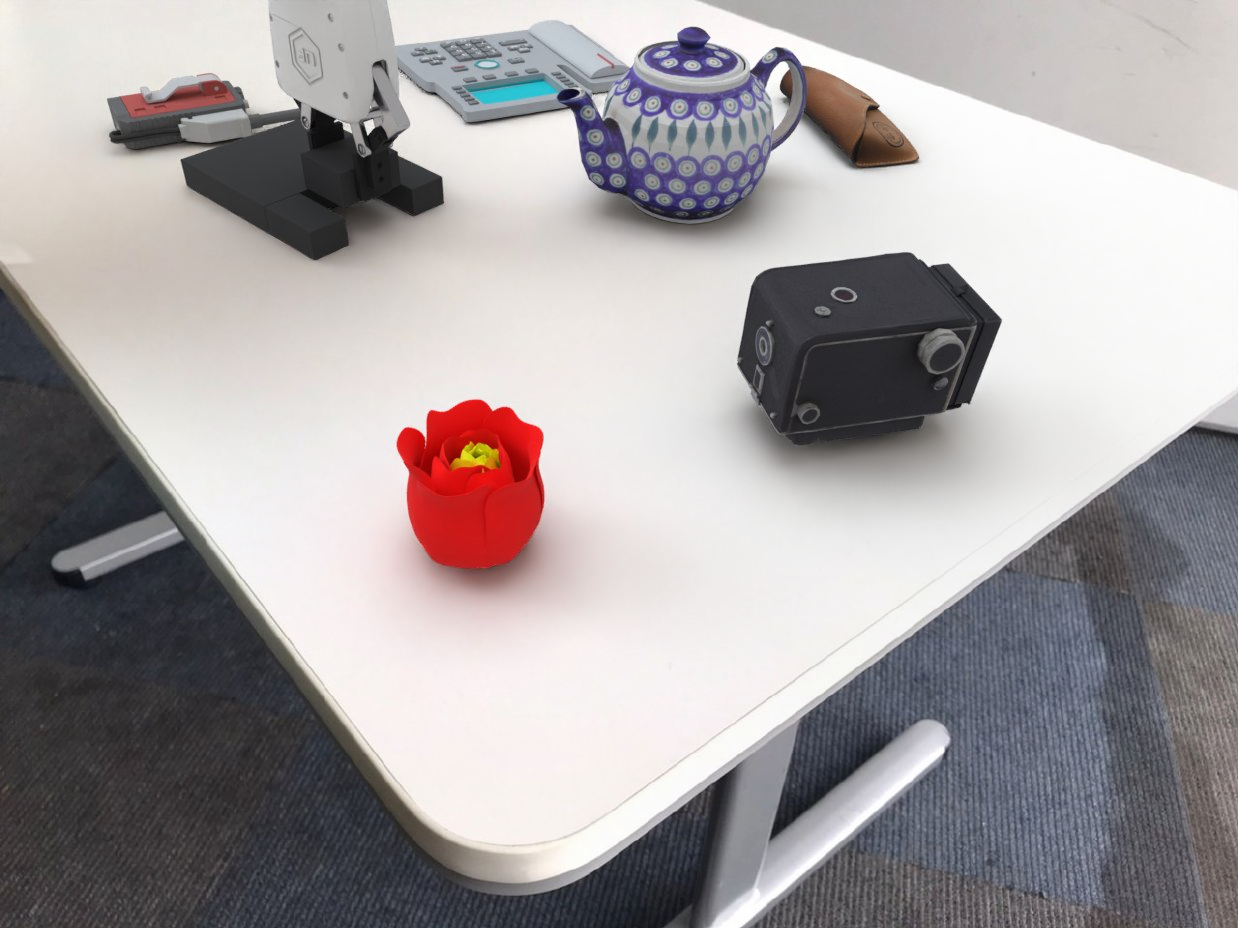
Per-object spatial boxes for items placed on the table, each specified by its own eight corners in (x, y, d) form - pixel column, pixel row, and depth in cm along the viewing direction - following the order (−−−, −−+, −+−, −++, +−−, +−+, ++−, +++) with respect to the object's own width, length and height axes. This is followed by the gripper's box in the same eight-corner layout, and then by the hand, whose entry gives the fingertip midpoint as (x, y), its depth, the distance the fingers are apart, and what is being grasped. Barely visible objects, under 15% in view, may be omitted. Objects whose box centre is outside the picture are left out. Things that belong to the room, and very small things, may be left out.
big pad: (314, 260, 82) (310, 232, 80) (186, 186, 90) (179, 159, 88) (444, 202, 90) (442, 176, 88) (316, 139, 98) (312, 114, 97)
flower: (409, 598, 56) (396, 493, 51) (407, 502, 62) (394, 398, 56) (551, 585, 57) (552, 481, 52) (536, 492, 63) (536, 389, 58)
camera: (781, 500, 65) (990, 446, 68) (795, 359, 57) (1030, 305, 60) (721, 399, 73) (911, 354, 75) (726, 262, 65) (938, 218, 67)
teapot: (751, 143, 103) (775, -14, 93) (840, 212, 93) (876, 44, 83) (520, 182, 94) (518, 13, 84) (590, 263, 84) (597, 81, 74)
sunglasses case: (927, 157, 101) (911, 103, 96) (865, 196, 102) (846, 144, 97) (846, 87, 114) (828, 36, 109) (791, 123, 115) (771, 73, 110)
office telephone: (570, 12, 122) (658, 70, 110) (570, 34, 124) (656, 94, 111) (385, 34, 113) (457, 101, 100) (387, 58, 114) (458, 127, 102)
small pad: (344, 208, 82) (339, 174, 80) (305, 188, 85) (300, 153, 83) (401, 185, 86) (398, 151, 84) (362, 166, 88) (358, 132, 86)
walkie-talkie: (119, 164, 92) (334, 126, 101) (105, 117, 89) (327, 81, 98) (100, 127, 98) (305, 94, 106) (86, 81, 95) (298, 50, 103)
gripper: (208, -69, 75) (253, 164, 87) (359, -12, 67) (385, 236, 79) (294, -85, 79) (325, 139, 91) (444, -33, 71) (456, 204, 84)
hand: (352, 181), depth 85 cm, fingers closed on small pad, 4 cm apart
